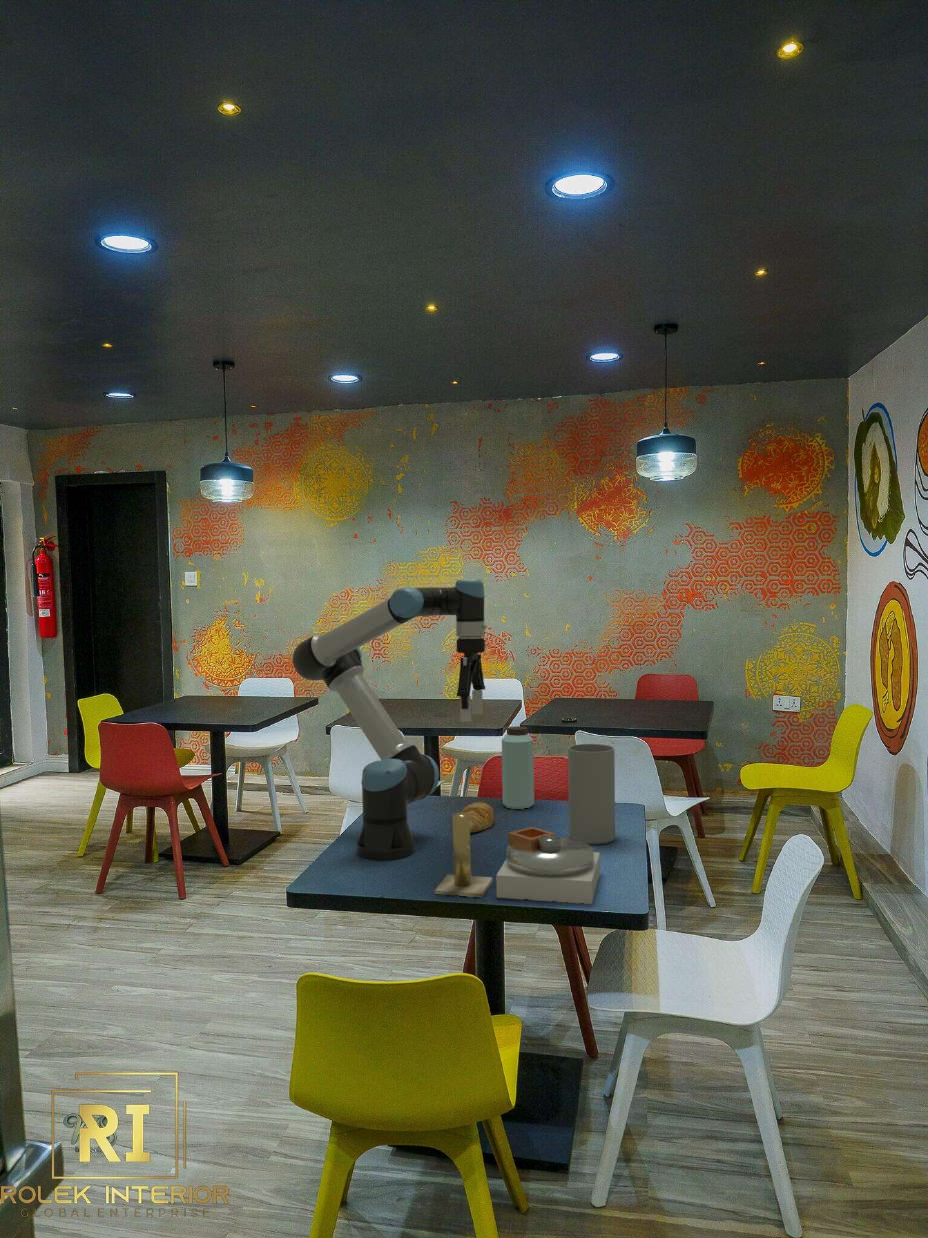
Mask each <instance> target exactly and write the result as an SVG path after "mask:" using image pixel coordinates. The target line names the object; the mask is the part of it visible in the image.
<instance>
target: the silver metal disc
mask: <svg viewBox="0 0 928 1238" xmlns="http://www.w3.org/2000/svg"><path fill="white" fill-rule="evenodd" d="M507 844H508V845H507V847H506V859H507V865H508V866H509V867H510V868H512V869H514V870H516V871H518V872H521V873H525V874H530V875H536V876H569V875H575V874H579V873H583V872H585V871H587V870H589V869H591V868H592V867H593V865H594V852H595V850H594V848H593V847H592V846H591V845H590V844H587V843H584V842H582V841H578V840H574V839H571V838H570V837H560V836H557V833H555V832H552V831H549V830H546V829H541V828H538V827H535V826H529V827H525V828H522V829H517V830H514V831H510V832H509V831H508V832H507Z"/></svg>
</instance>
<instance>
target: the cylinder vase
mask: <svg viewBox="0 0 928 1238" xmlns="http://www.w3.org/2000/svg"><path fill="white" fill-rule="evenodd" d="M567 762H568V763H567V764H568V767H567V768H568V769H567V772H568V777H567V778H568V779H567V780H568V838H569V839H574V840H578V841H582V842H584V843H587V844H589V845H590V846H591V845H595V846H598V845H607V844H608V843H611V842H613V841H614V840H615V839H616V804H615V803H616V795H615V794H616V789H615V787H616V786H615V785H616V784H615V783H616V782H615V781H616V779H615V777H616V775H615V774H616V773H615V767H616V766H615V747H613V746H611V745H607V744H601V743H600V744H598V743H582V744H581V743H580V744H572V745H569V746H568V747H567Z"/></svg>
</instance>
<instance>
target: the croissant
mask: <svg viewBox="0 0 928 1238" xmlns="http://www.w3.org/2000/svg"><path fill="white" fill-rule="evenodd" d="M460 812H465V813H469V816H470V834H472V833H477V832H478V833H479V832H480V831H485V830H487V828H488V829H489V828H492V827H493V824H494V818H495V814H494V813H495V812H494V809H493V807H492V806H490V805H489V804H487V803H486V802H484V801H477V802H473V803H470V804H468V805H466V806H465V807H463V809H462V810H461V811H460Z"/></svg>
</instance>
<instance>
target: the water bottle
mask: <svg viewBox="0 0 928 1238" xmlns="http://www.w3.org/2000/svg"><path fill="white" fill-rule="evenodd" d="M534 751H535V750H534V739H533V738H532V737H531V735H530V734H529V728H528V727H526V726H515V725H514V726H509V727H506V735H504V737H503V738H502V739H501V779H502V780H501V784H502V791H501V793H502V804H503V805H504V807H505V806H506V807H505V808H507V809H508V808H510V809H509V810H515V809H522V810H525V809H524V808H528V809H530V808H532V807H533V805H534V804H535V785H534V784H535V771H534V770H535V767H534V765H535V764H534V759H535V758H534ZM531 806H532V807H531ZM529 807H530V808H529Z"/></svg>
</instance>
